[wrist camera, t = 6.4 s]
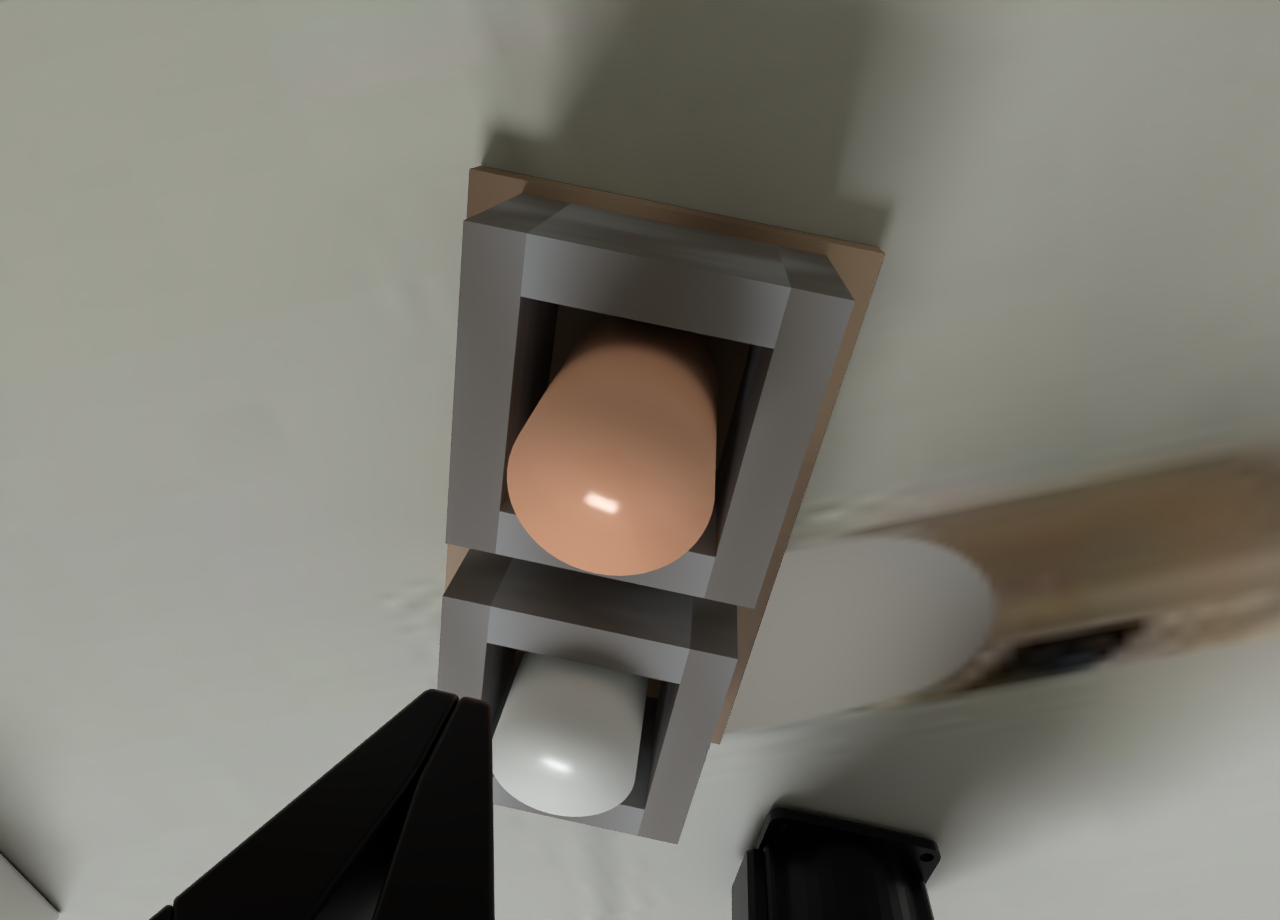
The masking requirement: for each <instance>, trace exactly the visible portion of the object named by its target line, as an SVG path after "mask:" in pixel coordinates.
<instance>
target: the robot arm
mask: <svg viewBox="0 0 1280 920" xmlns="http://www.w3.org/2000/svg"><path fill="white" fill-rule="evenodd" d="M940 858H941V856H940V852H939V849H938V846H937V844H936V843H935V842H934V841H932V840H929V839H925V838H920V837H916V836H911V835H906V834H902V833H897V832H893V831H888V830H883V829H879V828H874V827H870V826H865V825H860V824H856V823H851V822H847V821H842V820H837V819H833V818H828V817H824V816H819V815H814V814H810V813H805V812H801V811H796V810H791V809H787V808H775V809H773V810H771V811H770V812H769V814H768V816H767V818H766V821H765V823H764V826H763V828H762V831H761V833H760V835H759V838H758V840H757V843H756V845H755V848H754V847H751V848H750V849H749V850H748V851H747V852H746V854H745V856H744V858H743V861H742V863H741V866H740V868H739V871H738V873H737V876H736V878H735V881H734V883H733V886H732V920H934V917H933V913H932V909H931V905H930V901H929V897H928V893H927V889H926V885H925V884H926V882H927V880H928V879H929V877H930V876H931V874H932V872H933V871H934V869H935V868H936V866H937V864H938V863H939V861H940ZM149 920H495V913H494V835H493V756H492V706H491V704H490V703H489V702H488V701H484V700H480V699H475V698H471V697H461V698H460V699H459V697H458V696H457V695H456V694H453V693H449V692H444V691H440V690H436V689H429V690H426V691H424V692H423V693H422V694H421V695H419V696H418V697H417V698H416V699H415V700H413V701H412V702H411V703H410V704H409V705H407V706H406V707H405V708H404V709H403V710H401V711H400V712H399V713H398V714H397V715H395V716H394V717H393V718H392V719H391V720H389V721H388V722H387V723H386V724H385V725H383V726H382V727H381V728H380V729H379V730H377V731H376V732H375V733H374V734H373V735H371V736H370V737H369V738H368V739H366V740H365V741H364V742H363V743H362V744H360V745H359V746H358V747H357V748H356V749H354V750H353V751H352V752H351V753H350V754H348V755H347V756H346V757H345V758H344V759H342V760H341V761H340V762H339V763H338V764H336V765H335V766H334V767H333V768H332V769H330V770H329V771H328V772H327V773H326V774H324V775H323V776H322V777H321V778H320V779H318V780H317V781H316V782H315V783H314V784H312V785H311V786H310V787H309V788H307V789H306V790H305V791H304V792H303V793H301V794H300V795H299V796H298V797H297V798H295V799H294V800H293V801H292V802H291V803H289V804H288V805H287V806H286V807H285V808H283V809H282V810H281V811H280V812H279V813H277V814H276V815H275V816H274V817H273V818H271V819H270V820H269V821H268V822H267V823H265V824H264V825H263V826H262V827H261V828H259V829H258V830H257V831H256V832H254V833H253V834H252V835H251V836H250V837H248V838H247V839H246V840H245V841H244V842H242V843H241V844H240V845H239V846H238V847H236V848H235V849H234V850H233V851H232V852H230V853H229V854H228V855H227V856H226V857H224V858H223V859H222V860H221V861H220V862H218V863H217V864H216V865H215V866H214V867H212V868H211V869H210V870H209V871H208V872H206V873H205V874H204V875H203V876H202V877H200V878H199V879H198V880H197V881H195V882H194V883H193V884H192V885H191V886H189V887H188V888H187V889H186V890H185V891H183V892H182V893H181V894H180V895H179V896H177V897H176V898H175V900H174V903H173V906H172V905H166V906H165V907H164V908H162V909H161V910H160V911H159V912H158V913H156V914H155V915H154V916H153V917H152V918H150V919H149Z"/></svg>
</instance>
